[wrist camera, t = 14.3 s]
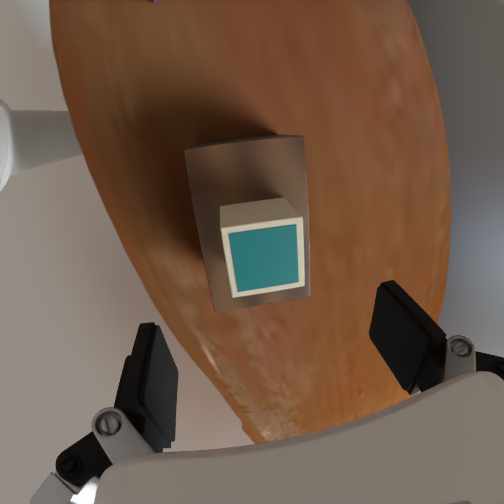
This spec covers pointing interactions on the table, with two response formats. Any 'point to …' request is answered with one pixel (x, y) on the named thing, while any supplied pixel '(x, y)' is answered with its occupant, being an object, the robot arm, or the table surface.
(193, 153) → the grey box shape
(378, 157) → the table surface
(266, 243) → the cube
